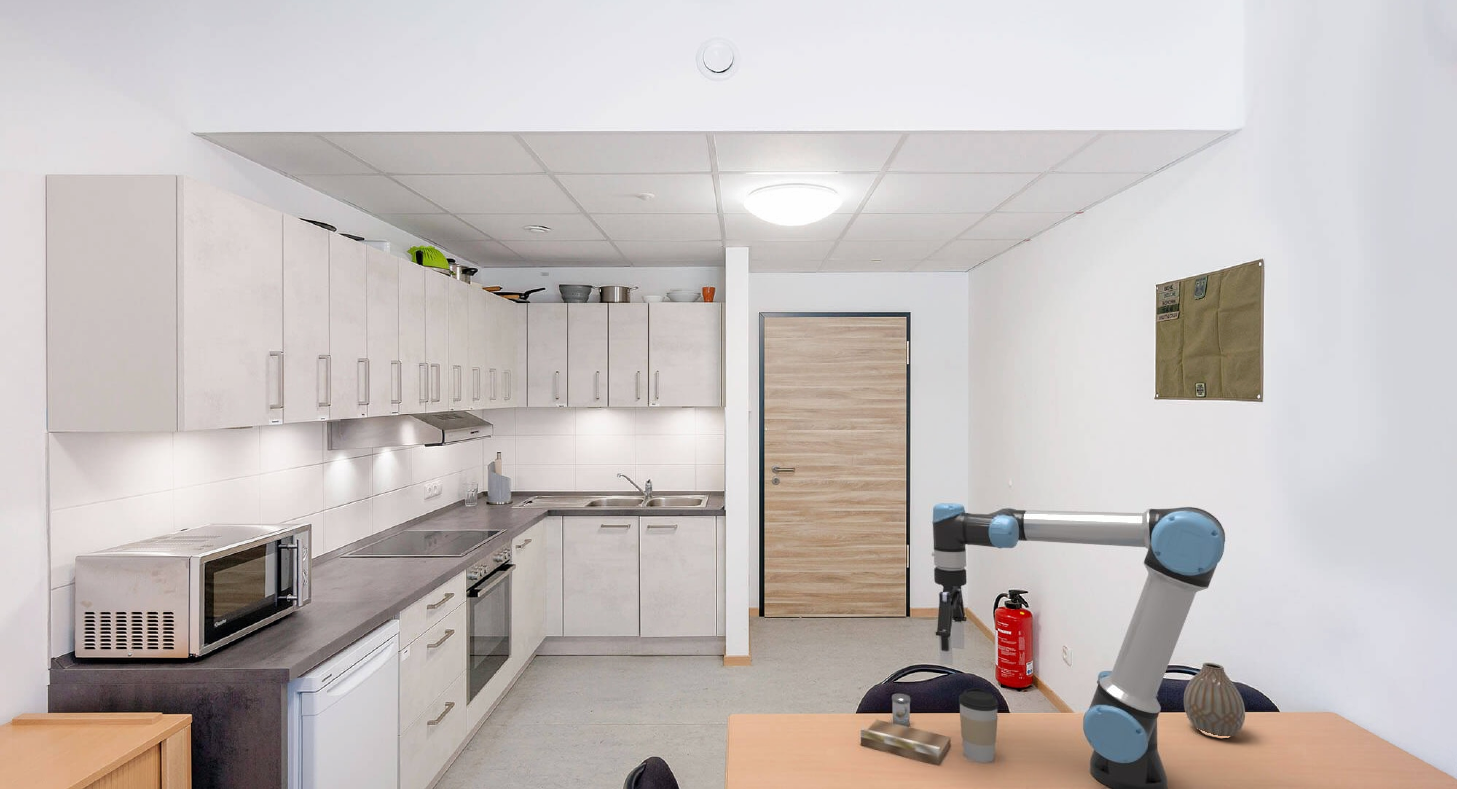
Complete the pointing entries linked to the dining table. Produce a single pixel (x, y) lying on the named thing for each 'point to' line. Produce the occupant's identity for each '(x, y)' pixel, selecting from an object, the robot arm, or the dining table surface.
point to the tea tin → (901, 709)
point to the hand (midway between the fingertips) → (952, 655)
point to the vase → (1214, 702)
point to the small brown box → (906, 741)
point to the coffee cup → (978, 724)
